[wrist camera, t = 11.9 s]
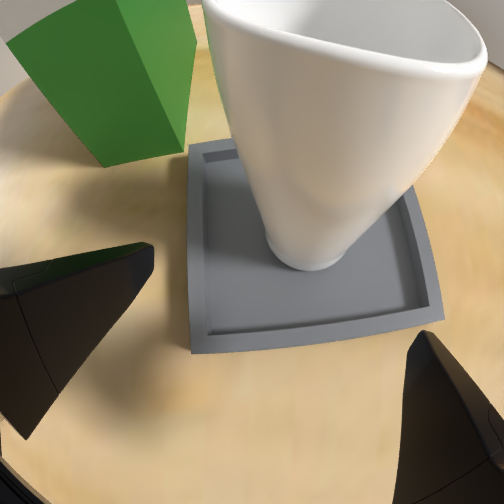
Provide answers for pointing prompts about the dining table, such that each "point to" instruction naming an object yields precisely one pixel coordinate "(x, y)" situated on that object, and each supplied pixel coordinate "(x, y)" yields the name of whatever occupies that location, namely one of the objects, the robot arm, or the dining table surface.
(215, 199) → the serving tray
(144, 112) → the hardback book
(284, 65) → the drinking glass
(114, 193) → the dining table surface
